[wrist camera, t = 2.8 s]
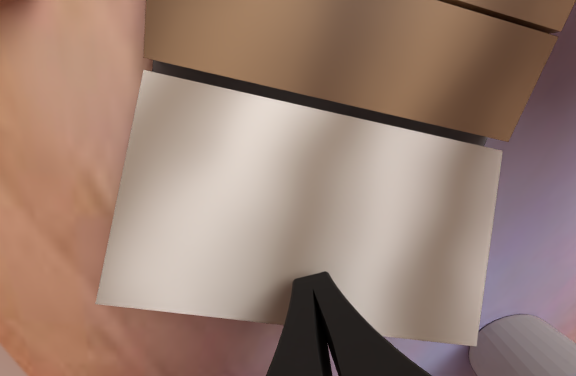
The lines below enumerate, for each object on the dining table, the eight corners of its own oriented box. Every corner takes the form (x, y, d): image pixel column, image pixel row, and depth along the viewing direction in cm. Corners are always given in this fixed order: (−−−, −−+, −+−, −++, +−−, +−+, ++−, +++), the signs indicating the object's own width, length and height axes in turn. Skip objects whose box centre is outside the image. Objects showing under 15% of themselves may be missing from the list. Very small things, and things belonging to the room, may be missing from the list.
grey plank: (476, 155, 15) (502, 150, 13) (452, 330, 14) (476, 346, 13) (155, 85, 12) (143, 69, 11) (114, 290, 12) (95, 304, 10)
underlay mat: (606, -139, 11) (615, -145, 11) (414, 290, 18) (416, 294, 18) (177, -317, 9) (174, -330, 8) (144, 253, 16) (142, 256, 15)
